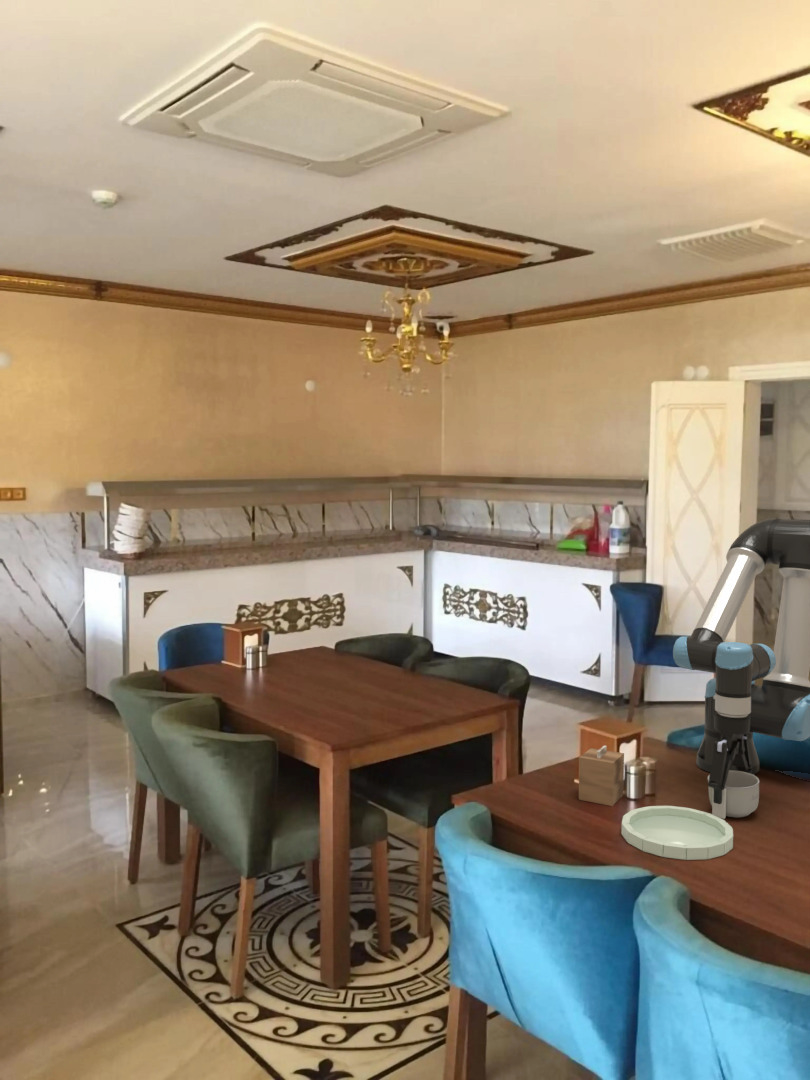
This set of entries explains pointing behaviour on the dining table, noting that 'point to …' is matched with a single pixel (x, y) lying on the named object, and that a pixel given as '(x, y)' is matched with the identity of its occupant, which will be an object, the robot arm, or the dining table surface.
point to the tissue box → (601, 776)
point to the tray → (677, 832)
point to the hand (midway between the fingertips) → (729, 808)
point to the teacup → (739, 793)
